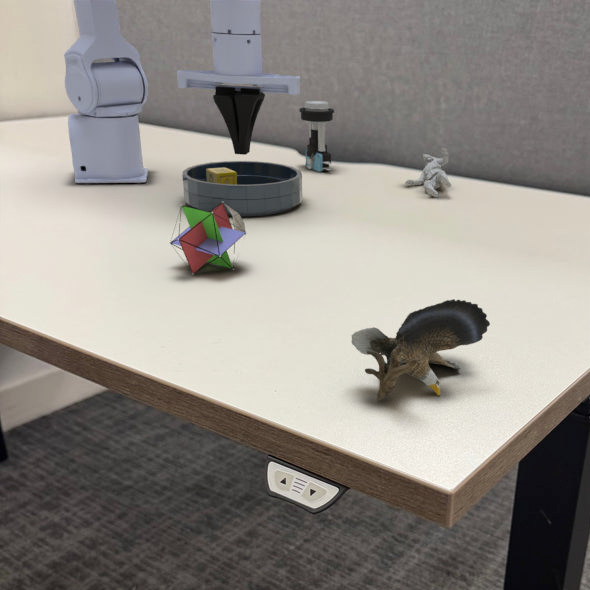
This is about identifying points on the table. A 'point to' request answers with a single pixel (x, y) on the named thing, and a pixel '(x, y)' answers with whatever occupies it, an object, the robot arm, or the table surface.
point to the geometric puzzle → (209, 236)
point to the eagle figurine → (421, 342)
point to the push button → (317, 134)
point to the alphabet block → (221, 176)
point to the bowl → (245, 188)
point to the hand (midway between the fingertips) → (242, 153)
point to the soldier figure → (432, 174)
